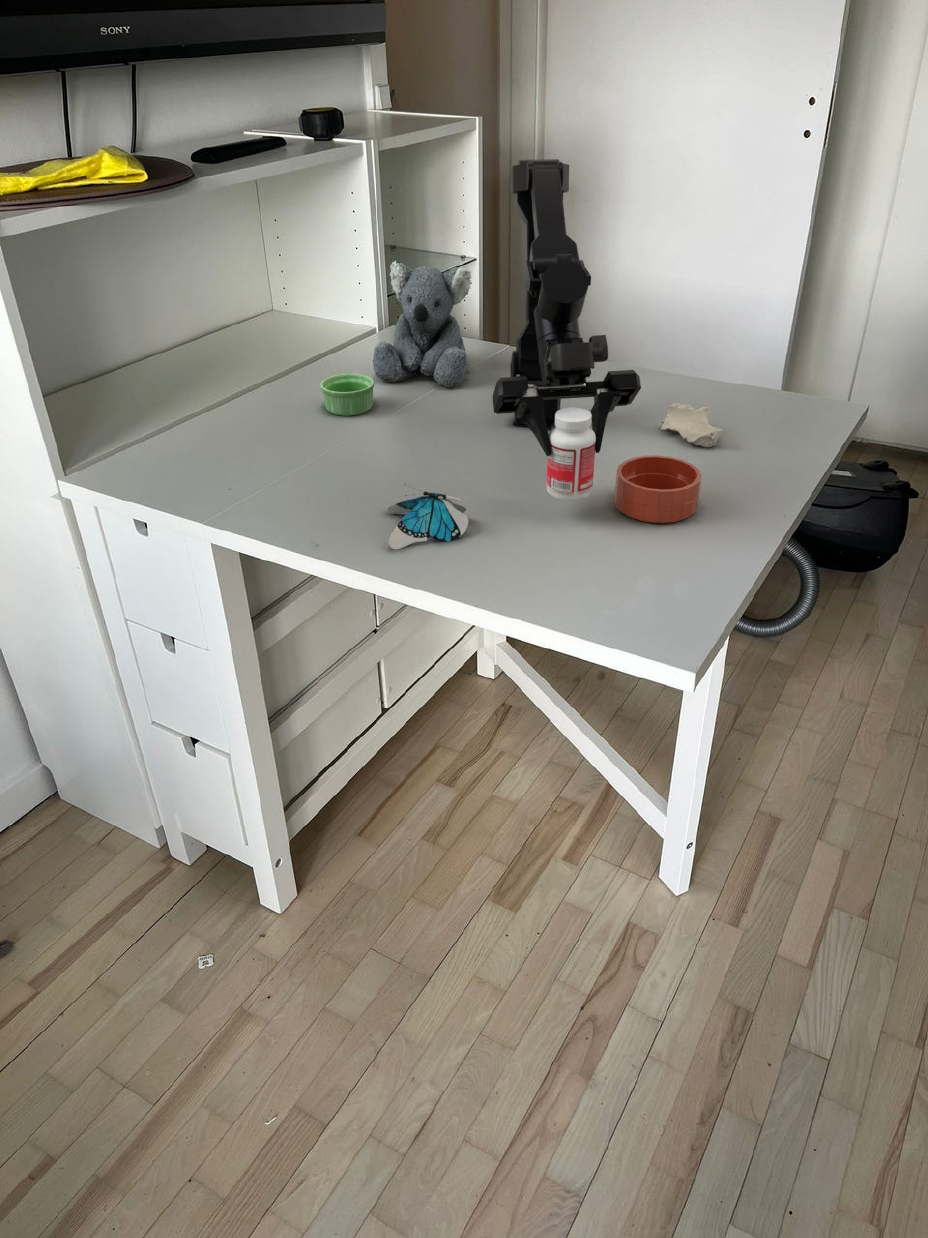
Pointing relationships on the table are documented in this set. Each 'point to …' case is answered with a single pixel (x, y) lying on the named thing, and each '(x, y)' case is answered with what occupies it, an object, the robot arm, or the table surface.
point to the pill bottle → (571, 455)
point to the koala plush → (425, 326)
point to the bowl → (657, 488)
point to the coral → (691, 424)
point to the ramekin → (348, 394)
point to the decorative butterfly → (428, 520)
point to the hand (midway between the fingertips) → (573, 453)
